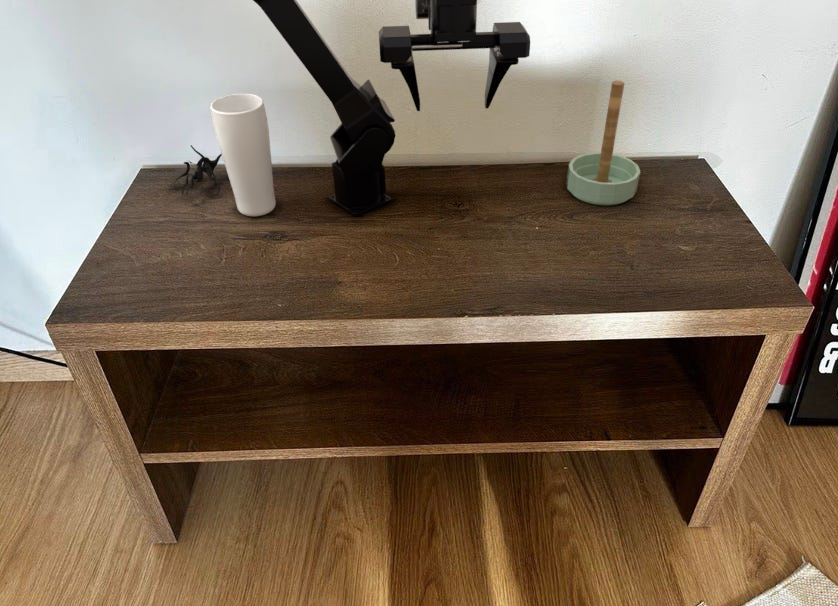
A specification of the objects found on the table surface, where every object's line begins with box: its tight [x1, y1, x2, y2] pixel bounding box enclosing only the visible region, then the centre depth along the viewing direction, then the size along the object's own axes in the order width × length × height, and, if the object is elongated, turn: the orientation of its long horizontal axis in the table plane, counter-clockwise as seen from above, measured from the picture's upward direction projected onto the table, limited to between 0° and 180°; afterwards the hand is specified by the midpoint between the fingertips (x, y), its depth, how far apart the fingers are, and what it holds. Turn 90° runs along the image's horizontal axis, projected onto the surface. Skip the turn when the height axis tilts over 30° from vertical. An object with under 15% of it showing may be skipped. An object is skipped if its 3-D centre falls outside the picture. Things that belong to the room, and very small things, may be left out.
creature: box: [173, 144, 222, 198], centre depth 101 cm, size 8×5×8 cm
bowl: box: [566, 152, 641, 206], centre depth 100 cm, size 10×10×4 cm
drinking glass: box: [209, 93, 277, 218], centre depth 93 cm, size 7×7×15 cm
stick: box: [592, 80, 625, 183], centre depth 96 cm, size 3×3×15 cm
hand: (452, 108), depth 94 cm, fingers open, 9 cm apart
